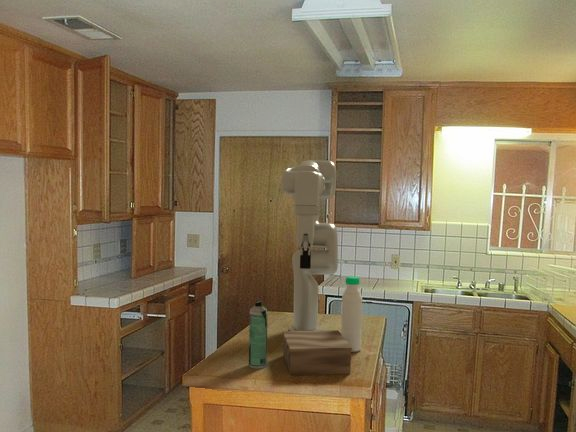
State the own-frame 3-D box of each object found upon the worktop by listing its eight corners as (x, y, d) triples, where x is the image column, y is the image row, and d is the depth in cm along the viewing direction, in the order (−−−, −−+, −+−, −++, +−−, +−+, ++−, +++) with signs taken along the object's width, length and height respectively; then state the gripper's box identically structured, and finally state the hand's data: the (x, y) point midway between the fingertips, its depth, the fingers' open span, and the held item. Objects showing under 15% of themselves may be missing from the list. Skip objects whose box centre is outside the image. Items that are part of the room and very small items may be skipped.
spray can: (269, 364, 157) (270, 300, 156) (262, 369, 152) (263, 304, 151) (253, 361, 159) (253, 299, 158) (246, 367, 154) (246, 302, 153)
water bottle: (356, 353, 169) (357, 279, 168) (337, 350, 173) (338, 277, 171) (364, 348, 175) (366, 276, 174) (346, 344, 179) (347, 274, 177)
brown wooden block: (282, 355, 166) (282, 331, 166) (337, 353, 168) (338, 330, 168) (289, 375, 148) (290, 348, 147) (351, 374, 150) (352, 347, 150)
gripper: (295, 210, 165) (294, 262, 166) (293, 211, 148) (292, 270, 148) (318, 210, 165) (317, 262, 165) (319, 212, 147) (317, 270, 148)
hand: (305, 266), depth 157 cm, fingers open, 9 cm apart
